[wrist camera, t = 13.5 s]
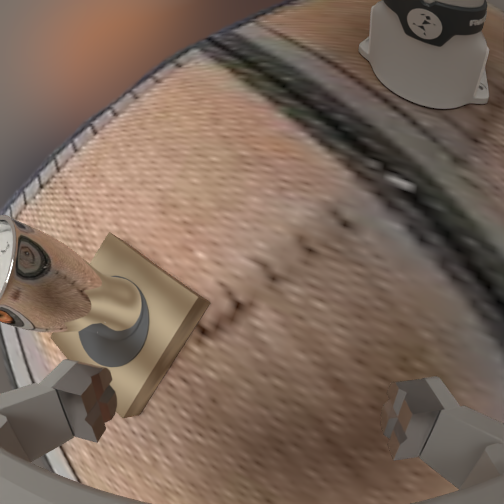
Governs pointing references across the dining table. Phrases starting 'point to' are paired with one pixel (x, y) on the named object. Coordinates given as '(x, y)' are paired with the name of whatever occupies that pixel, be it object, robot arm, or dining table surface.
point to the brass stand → (146, 334)
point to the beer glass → (60, 288)
